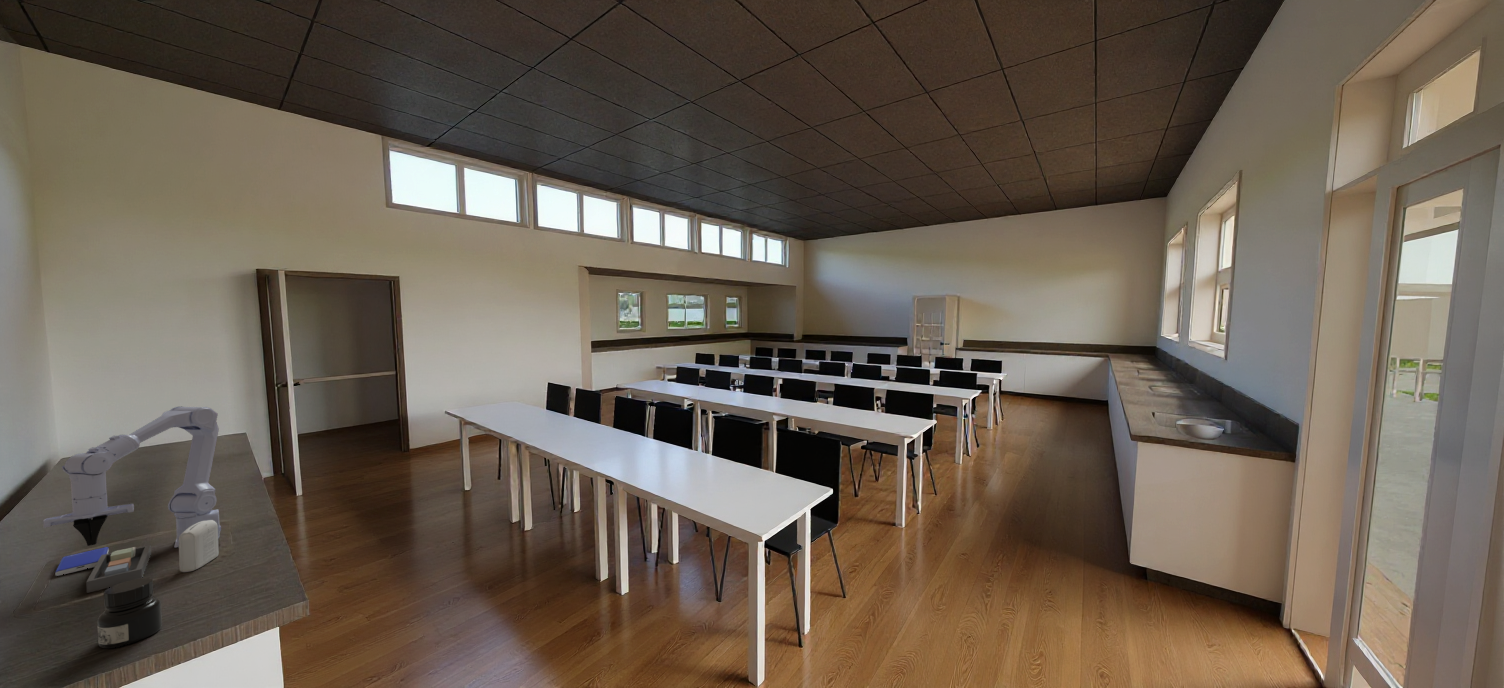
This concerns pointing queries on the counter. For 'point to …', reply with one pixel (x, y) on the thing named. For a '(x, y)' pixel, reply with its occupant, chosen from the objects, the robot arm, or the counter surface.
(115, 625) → the ink bottle
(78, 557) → the hard drive
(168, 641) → the counter surface
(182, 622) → the counter surface
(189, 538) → the photo printer
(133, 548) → the cream key
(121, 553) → the sage key
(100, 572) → the dark grey tray
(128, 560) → the terracotta key
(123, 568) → the slate key
